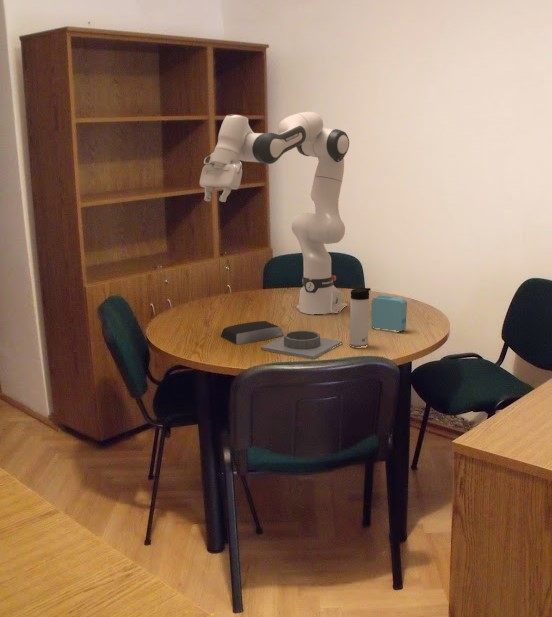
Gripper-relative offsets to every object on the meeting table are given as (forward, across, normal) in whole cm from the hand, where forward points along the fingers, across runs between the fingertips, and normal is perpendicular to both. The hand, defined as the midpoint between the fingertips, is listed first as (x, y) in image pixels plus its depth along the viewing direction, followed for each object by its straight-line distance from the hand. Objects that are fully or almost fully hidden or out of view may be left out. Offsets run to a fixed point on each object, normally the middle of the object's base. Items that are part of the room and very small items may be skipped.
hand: (214, 201), depth 239 cm
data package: (+26, -24, -71) cm, 79 cm away
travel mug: (+34, -32, -50) cm, 69 cm away
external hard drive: (+41, 0, -29) cm, 51 cm away
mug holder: (+39, -21, -35) cm, 57 cm away
